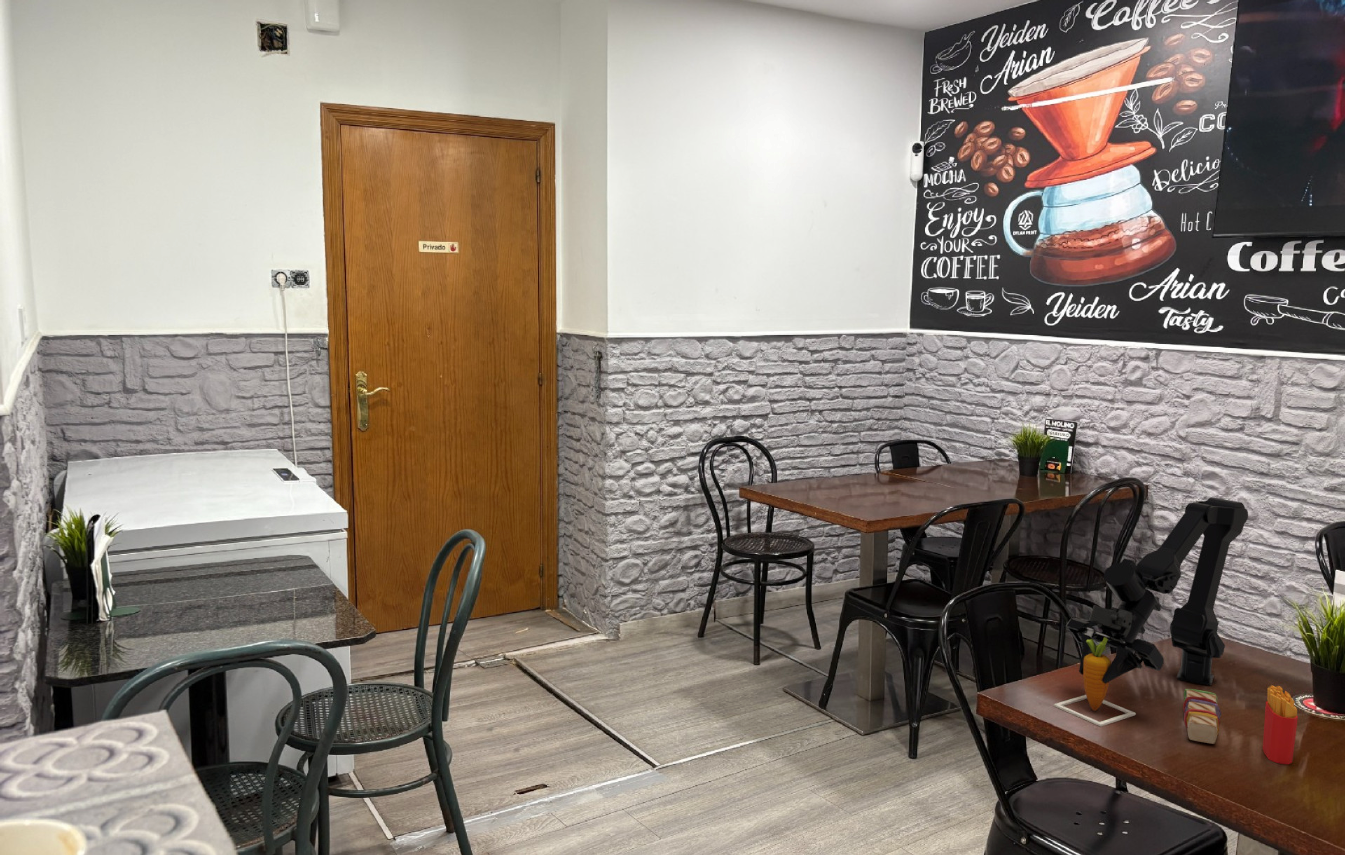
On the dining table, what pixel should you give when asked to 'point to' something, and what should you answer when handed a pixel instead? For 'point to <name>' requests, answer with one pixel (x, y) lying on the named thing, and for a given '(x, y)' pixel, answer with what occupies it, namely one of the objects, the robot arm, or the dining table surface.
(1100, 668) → the carrot
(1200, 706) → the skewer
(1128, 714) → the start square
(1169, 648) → the dining table surface
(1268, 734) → the french fries
